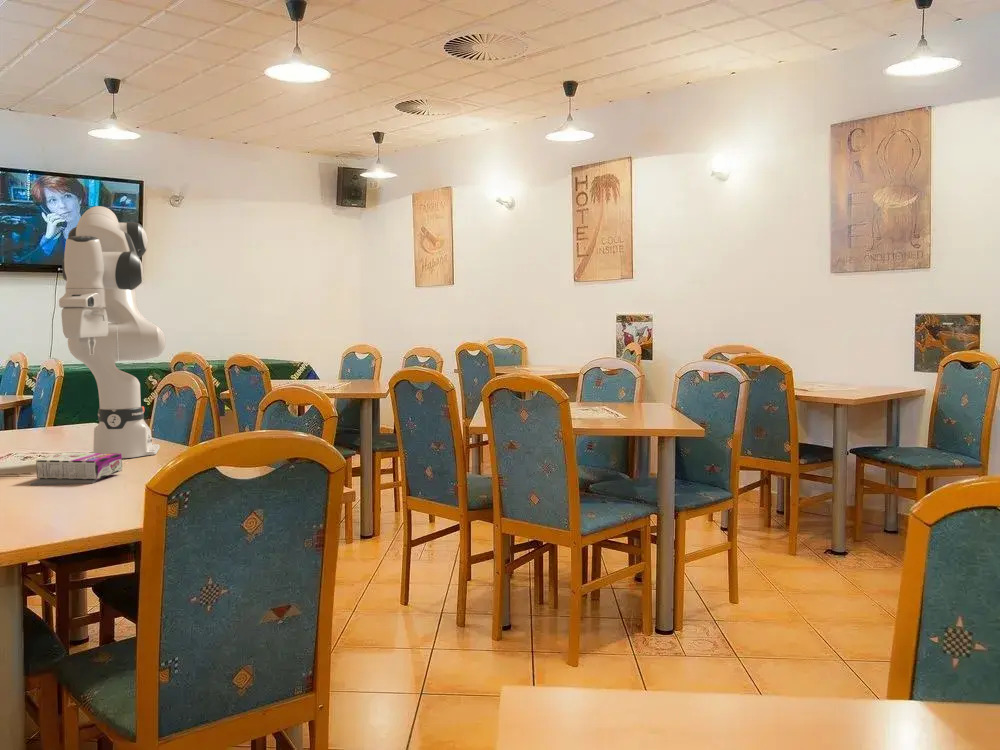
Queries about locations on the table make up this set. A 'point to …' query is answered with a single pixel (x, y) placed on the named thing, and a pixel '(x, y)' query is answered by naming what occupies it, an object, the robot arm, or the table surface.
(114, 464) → the candy bar box
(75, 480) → the slate mat
